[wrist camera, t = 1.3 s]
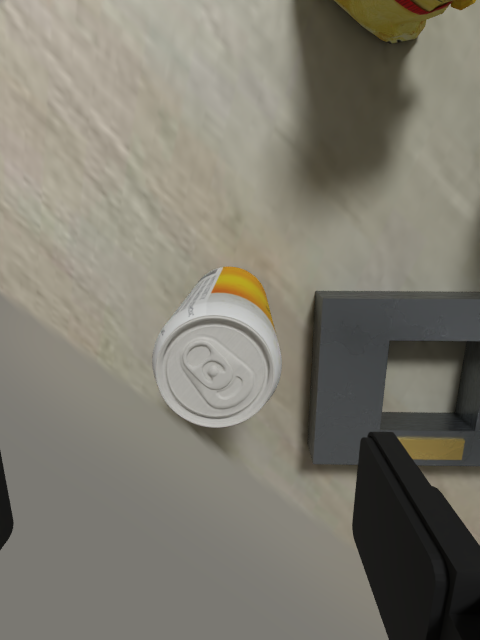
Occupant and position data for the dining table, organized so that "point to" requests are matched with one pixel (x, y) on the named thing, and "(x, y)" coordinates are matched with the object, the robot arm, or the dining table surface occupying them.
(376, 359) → the plate
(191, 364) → the beer can
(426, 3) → the chocolate bunny
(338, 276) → the dining table surface
